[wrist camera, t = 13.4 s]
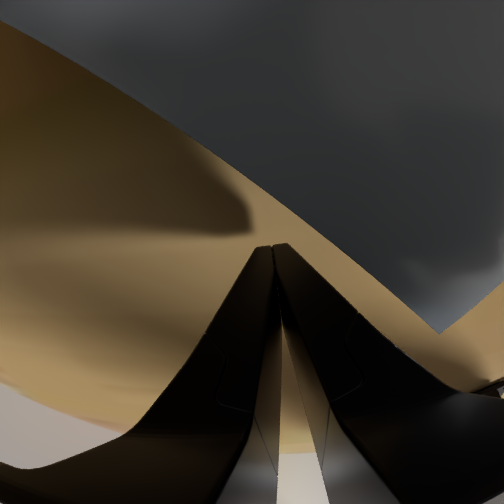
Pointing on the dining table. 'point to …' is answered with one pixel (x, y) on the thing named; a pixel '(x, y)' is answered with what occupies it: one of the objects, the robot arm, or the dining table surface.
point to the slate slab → (328, 117)
